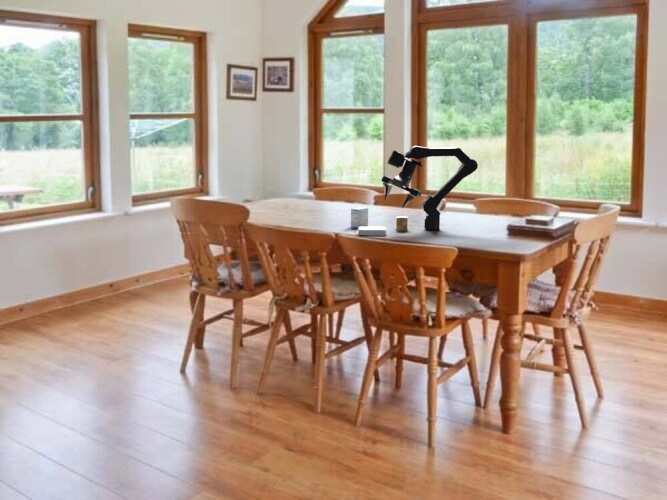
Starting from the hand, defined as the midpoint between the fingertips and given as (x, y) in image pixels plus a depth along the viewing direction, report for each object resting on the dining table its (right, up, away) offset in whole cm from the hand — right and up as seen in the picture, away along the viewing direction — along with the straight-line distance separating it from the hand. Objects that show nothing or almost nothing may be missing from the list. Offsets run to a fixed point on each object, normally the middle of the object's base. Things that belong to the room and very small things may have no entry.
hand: (394, 203), depth 350 cm
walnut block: (+4, -12, +2) cm, 13 cm away
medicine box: (-15, -10, +11) cm, 22 cm away
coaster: (-8, -12, +2) cm, 14 cm away
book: (-10, -14, -10) cm, 20 cm away
